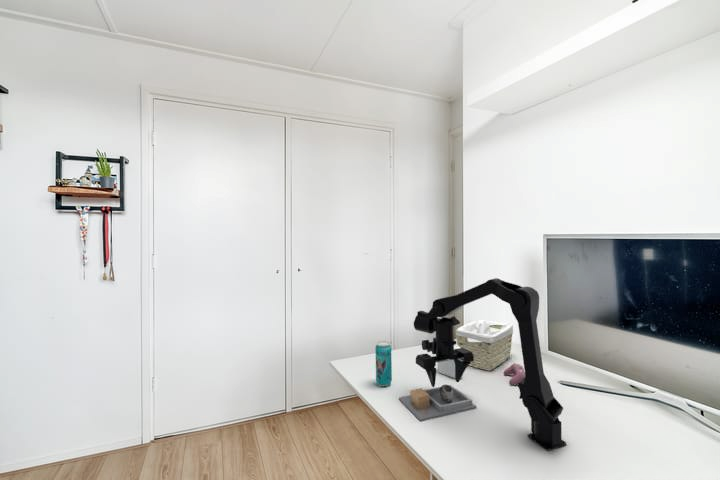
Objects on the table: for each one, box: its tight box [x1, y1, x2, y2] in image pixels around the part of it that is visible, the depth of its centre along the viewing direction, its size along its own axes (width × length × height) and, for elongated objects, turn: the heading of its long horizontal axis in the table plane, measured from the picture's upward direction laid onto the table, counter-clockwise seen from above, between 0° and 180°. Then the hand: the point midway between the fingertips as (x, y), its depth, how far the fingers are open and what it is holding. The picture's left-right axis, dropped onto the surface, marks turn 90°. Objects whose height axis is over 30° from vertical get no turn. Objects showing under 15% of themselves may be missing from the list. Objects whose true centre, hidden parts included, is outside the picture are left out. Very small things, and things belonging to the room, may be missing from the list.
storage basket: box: [455, 319, 514, 372], centre depth 143 cm, size 24×16×15 cm
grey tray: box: [398, 384, 477, 422], centre depth 107 cm, size 14×20×5 cm
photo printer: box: [436, 344, 464, 379], centre depth 129 cm, size 10×4×12 cm, turn 39°
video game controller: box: [503, 362, 525, 386], centre depth 123 cm, size 10×5×7 cm, turn 170°
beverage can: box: [375, 340, 393, 387], centre depth 122 cm, size 6×6×15 cm
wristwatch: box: [439, 384, 453, 403], centre depth 108 cm, size 4×6×5 cm, turn 15°
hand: (445, 384), depth 108 cm, fingers open, 9 cm apart
